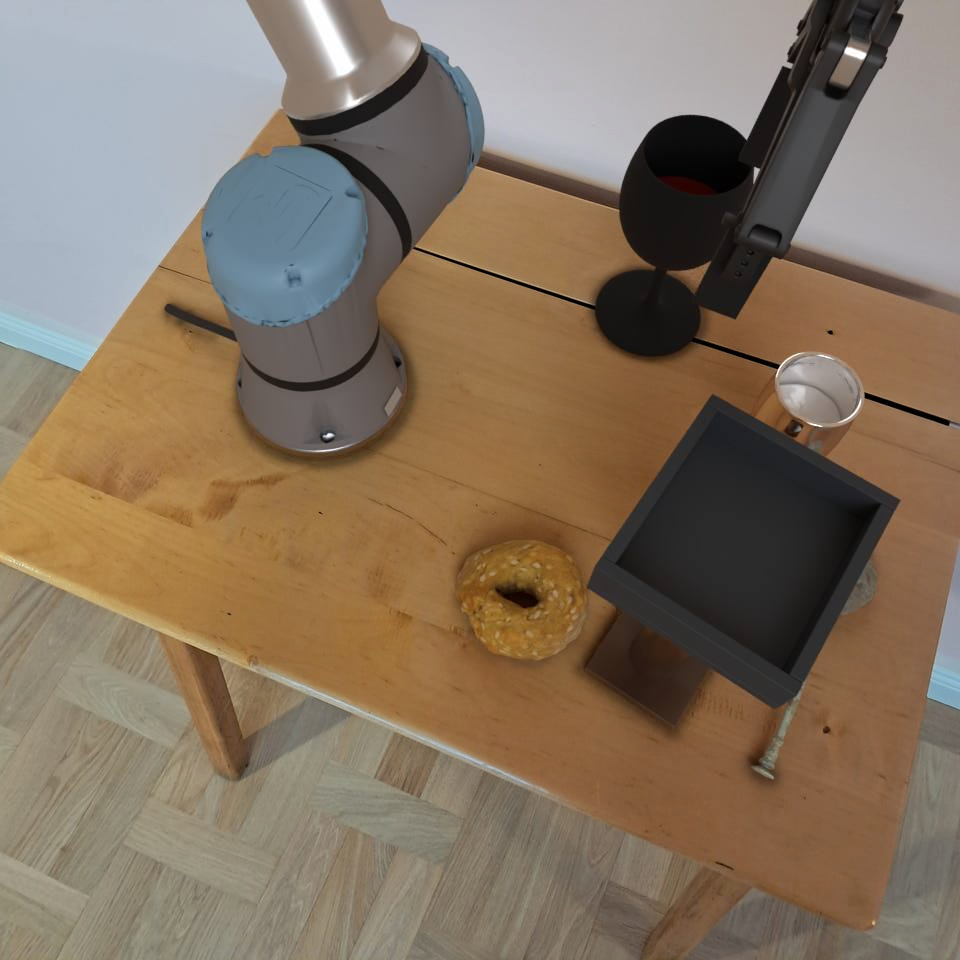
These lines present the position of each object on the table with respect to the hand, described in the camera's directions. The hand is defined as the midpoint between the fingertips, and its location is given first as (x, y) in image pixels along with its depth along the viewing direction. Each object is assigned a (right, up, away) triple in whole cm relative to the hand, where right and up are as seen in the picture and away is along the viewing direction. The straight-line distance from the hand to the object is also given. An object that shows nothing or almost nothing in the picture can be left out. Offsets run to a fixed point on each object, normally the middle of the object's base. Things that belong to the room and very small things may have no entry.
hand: (737, 231), depth 54 cm
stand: (-2, -30, +16) cm, 34 cm away
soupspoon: (+10, -29, +17) cm, 35 cm away
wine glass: (0, +1, +31) cm, 31 cm away
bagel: (-13, -26, +18) cm, 34 cm away
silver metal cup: (+9, -15, +23) cm, 29 cm away
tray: (-2, -20, -5) cm, 20 cm away
